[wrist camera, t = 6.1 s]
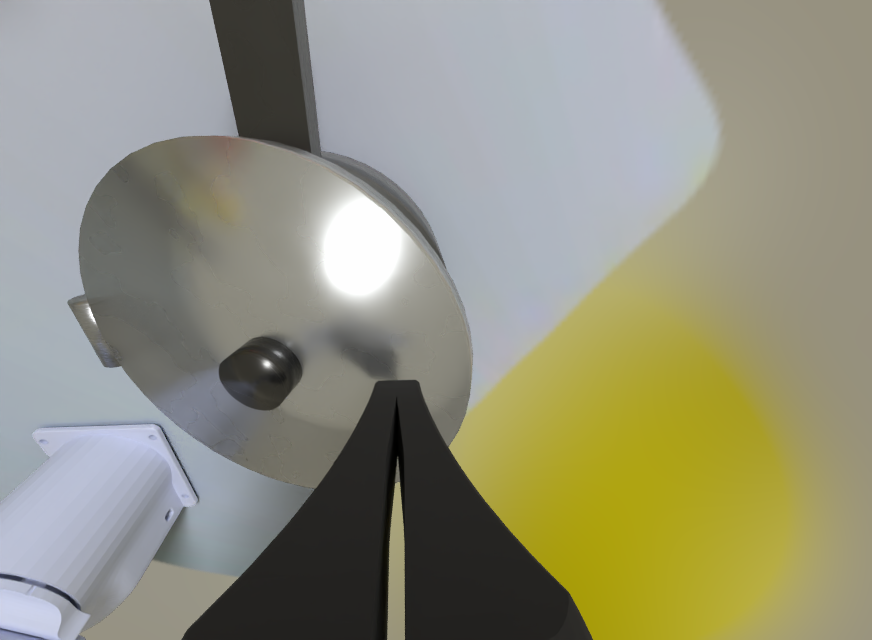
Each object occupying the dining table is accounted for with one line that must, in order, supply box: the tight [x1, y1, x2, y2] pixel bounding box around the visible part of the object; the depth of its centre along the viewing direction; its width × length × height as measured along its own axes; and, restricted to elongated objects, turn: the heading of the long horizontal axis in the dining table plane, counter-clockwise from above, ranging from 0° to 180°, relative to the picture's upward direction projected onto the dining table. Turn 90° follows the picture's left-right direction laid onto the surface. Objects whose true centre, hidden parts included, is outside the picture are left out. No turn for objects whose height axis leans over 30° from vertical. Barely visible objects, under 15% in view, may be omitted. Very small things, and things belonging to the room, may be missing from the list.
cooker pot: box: [209, 0, 446, 268], centre depth 16 cm, size 20×14×5 cm
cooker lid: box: [67, 136, 473, 489], centre depth 12 cm, size 15×16×2 cm
